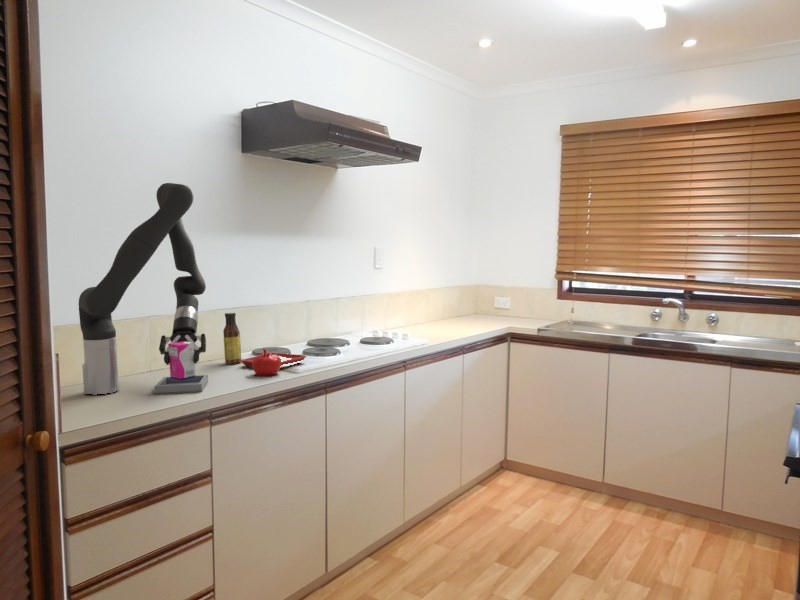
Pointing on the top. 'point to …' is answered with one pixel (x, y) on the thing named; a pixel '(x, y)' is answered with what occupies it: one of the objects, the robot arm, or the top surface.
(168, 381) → the tray
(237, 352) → the sauce bottle
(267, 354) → the pomegranate
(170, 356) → the supplement box
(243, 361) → the red square tray
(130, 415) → the top surface
